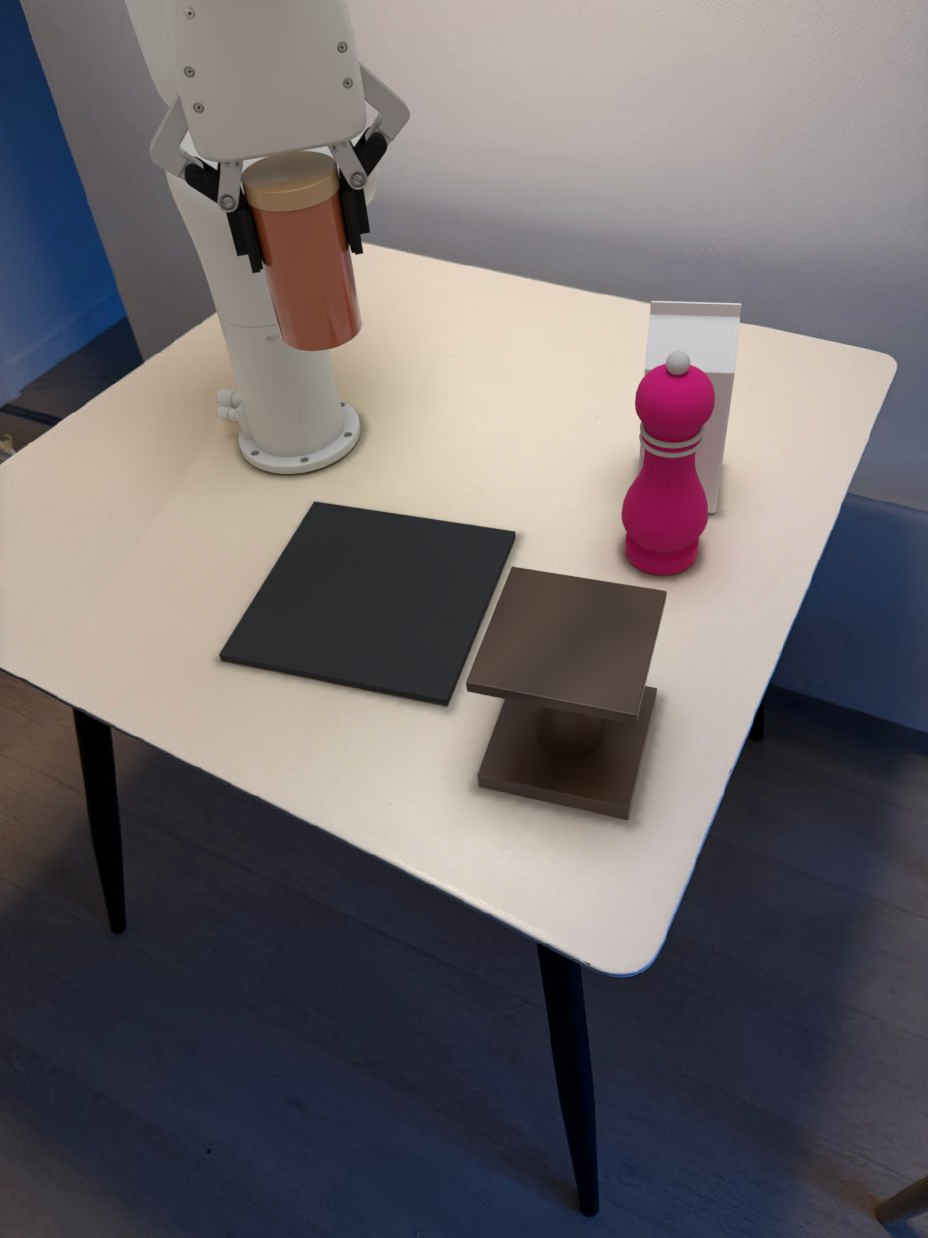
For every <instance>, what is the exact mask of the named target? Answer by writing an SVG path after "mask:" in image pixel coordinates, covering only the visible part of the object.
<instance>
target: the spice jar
mask: <svg viewBox="0 0 928 1238" xmlns="http://www.w3.org/2000/svg"><path fill="white" fill-rule="evenodd" d="M241 182H242V186H243V191H244V195H245V199H246V201H247V202H248V204H249V208H250V212H251V217H252V221H253V225H254V229H255V233H256V237H257V241H258V245H259V250H260V254H261V258H262V262H263V266H264V270H265V274H266V278H267V283H268V287H269V291H270V295H271V299H272V303H273V307H274V312H275V316H276V320H277V324H278V328H279V332H280V336H281V339H282V340H283V342H284V343H285V344H287V345H288V346H290V347H292V348H295V349H298V350H304V351H321V350H327V349H330V350H331V349H334V348H338V347H341V346H343V345H345V344H347V343H348V342H350V341H352V340H354V338H356V337H357V336H358V335H359V333H360V332H361V330H362V328H363V318H362V311H361V306H360V300H359V295H358V289H357V284H356V277H355V272H354V266H353V260H352V253H351V249H350V246H349V242H348V236H347V230H346V225H345V219H344V213H343V207H342V201H341V196H340V190H339V187H340V180H339V174H338V168H337V163H336V161H335V160H334V159H333V158H332V157H330V156H329V155H326V154H323V153H319V152H313V151H297V152H291V153H286V154H280V155H274V156H269V157H266V158H263V159H261V160H258V161H256V162H255V163H253V164H251V165H250V166H248V167H247V168H246V169H245V170H244V171H243V173H242V177H241Z"/></svg>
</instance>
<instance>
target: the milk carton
mask: <svg viewBox="0 0 928 1238" xmlns="http://www.w3.org/2000/svg"><path fill="white" fill-rule="evenodd" d="M742 305H743V304H742V303H740V302H739V303H738V302H708V301H707V302H704V301H673V300H671V301H669V300H651V301H650V306H649V307H650V309H649V320H648V321H649V322H648V330H647V342H646V351H645V363H644V375H643V377H644V376H645V375H646V374H647V373H648V372H649V371H651V370H652V369H654V368H655V367H657V366H660V365H663V364H665V363H666V360H667V357H668V356H669V355H670V354H671V353H672V352H674V351H684V352H685V353H686V354H687V355H688V356H689V358H690V365H693V366H695V367H697V368H699V369H700V370H702V371H703V372H704V373H705V374H706V375H707V376H708V377H709V379H710V380H711V382H712V385H713V387H714V393H715V406H714V409H713V412H712V415H711V417H710V418H709V420H708V421H707V422H706V423H705V424H704V425H705V432H704V441H703V444H702V446H701V447H700V448H699V449H698V450H697V451H696V454H695V467H696V472H697V474H698V477H699V480H700V482H701V484H702V487H703V489H704V491H705V495H706V499H707V504H708V514H715V513H716V512H717V505H718V498H719V489H720V484H721V477H722V470H723V461H724V454H725V447H726V440H727V433H728V426H729V417H730V410H731V404H732V396H733V390H734V389H733V388H734V381H735V374H736V365H737V355H738V354H737V353H738V345H739V344H738V343H739V335H740V334H739V333H740V324H741V322H740V321H741V314H742ZM639 443H640V442H639ZM644 454H645V451H644V447H643V446H642V445H641V443H640V444H639V459H638V460H639V461H638V474H639V473H640V471H641V469H642V466H643V461H644Z"/></svg>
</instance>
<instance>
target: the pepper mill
mask: <svg viewBox="0 0 928 1238" xmlns="http://www.w3.org/2000/svg"><path fill="white" fill-rule="evenodd" d="M644 375H645V374H644ZM644 375H643V377H642V378H641V380H640V382H639V383H638V386H637V389H636V392H635V398H634V409H635V413H636V415H637V417H638V419H639V421H640V424H639V434H638V435H639V436H638V438H639V443H641V445H642V446H643V447H644V451H645V454H644V461H643V466H642V469H641V471H640V473H639V472H638V475H637V476H636V478H635V479H634V480H633V482H632V483H631V485H630V486H629V488H628V490H627V491H626V494H625V496H624V499H623V501H622V506H621V507H622V508H621V513H620V515H621V517H620V518H621V523H622V526H623V529H624V530H625V532H626V534H625V547H624V551H625V555H626V558H627V560H628V561H629V562H630V563H631V564H632V565H633V566H634V567H635V568H637V570H640V571H642V572H643V573H647V574H651V575H654V576H670V575H671V576H672V575H677V574H679V573H682V572H684V571H686V570H687V569H689V568H690V567H691V566H692V565H693V564H694V563H695V561H696V560H697V557H698V551H699V543H700V536H701V535H702V534H703V533H704V531H705V529H706V527H707V525H708V520H709V513H708V504H707V499H706V495H705V491H704V489H703V487H702V484H701V482H700V480H699V477H698V474H697V472H696V467H695V454H696V451H697V450H698V449H699V448H700V447H701V446H702V444H703V441H704V432H705V425H704V424H705V423H706V422H707V421H708V420H709V418H710V417H711V415H712V412H713V409H714V406H715V393H714V387H713V385H712V382H711V380H710V379H709V377H708V376H707V375H706V374H705V373H704V372H703V371H702V370H700V369H699V368H697V367H695V366H693V365H690V358H689V356H688V355H687V354H686V353H685V352H684V351H674V352H672V353H671V354H670V355H669V356H668V357H667V360H666V363H665V364H663V365H660V366H657V367H655V368H654V369H652V370H651V371H649V372H648V373H647V374H646V375H645V376H644Z"/></svg>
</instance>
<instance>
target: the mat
mask: <svg viewBox="0 0 928 1238" xmlns="http://www.w3.org/2000/svg"><path fill="white" fill-rule="evenodd" d="M516 538H517V537H516V531H515V530H508V529H502V528H495V527H490V526H481V525H476V524H469V523H461V522H455V521H450V520H449V521H448V520H440V519H436V518H429V517H423V516H415V515H410V514H402V513H395V512H388V511H383V510H375V509H370V508H369V509H368V508H363V507H355V506H348V505H342V504H335V503H328V502H321V501H315V500H314V501H313V502H312V504H311V506H310V507H309V509H308V511H307V512H306V513H305V515H304V517H303V518H302V520H301V522H300V523H299V525H298V526H297V528H296V530H295V531H294V533H293V535H292V536H291V538H290V539H289V541H288V543H287V544H286V546H285V547H284V549H283V550H282V552H281V554H280V556H279V557H278V558H277V560H276V562H275V563H274V565H273V566H272V568H271V570H270V571H269V573H268V574H267V576H266V578H265V579H264V581H263V582H262V584H261V586H260V587H259V590H258V591H257V592H256V593H255V596H254V597H253V599H252V601H251V602H250V604H249V605H248V607H247V608H246V610H245V612H244V613H243V615H242V617H241V618H240V620H239V621H238V623H237V625H236V626H235V628H234V629H233V631H232V633H231V634H230V635H229V637H228V639H227V640H226V641H225V642H226V643H225V644H224V645H223V647H222V649H221V650H220V652H219V654H218V656H219V659H220V661H222V662H226V663H232V664H236V665H241V666H245V667H252V668H257V669H260V670H266V671H272V672H276V673H281V674H286V675H291V676H297V677H301V678H306V679H311V680H316V681H320V682H325V683H330V684H336V685H341V686H346V687H351V688H356V689H361V690H366V691H371V692H376V693H381V694H385V695H390V696H395V697H400V698H405V699H410V700H414V701H415V700H416V701H421V702H425V703H430V704H434V705H440V706H445V707H447V706H448V705H449V704H450V701H451V700H452V699H451V698H452V696H453V693H454V691H455V688H456V686H457V684H458V681H459V679H460V677H461V674H462V671H463V669H464V666H465V664H466V661H467V659H468V656H469V654H470V653H471V652H470V651H471V649H472V646H473V645H474V642H475V639H476V637H477V634H478V632H479V629H480V627H481V625H482V622H483V619H484V617H485V616H486V615H485V614H486V612H487V609H488V607H489V604H490V601H491V600H492V597H493V595H494V592H495V591H496V587H497V585H498V582H499V580H500V577H501V575H502V572H503V570H504V568H505V565H506V562H507V561H508V557H509V556H510V553H511V551H512V548H513V545H514V543H515V540H516Z"/></svg>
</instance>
